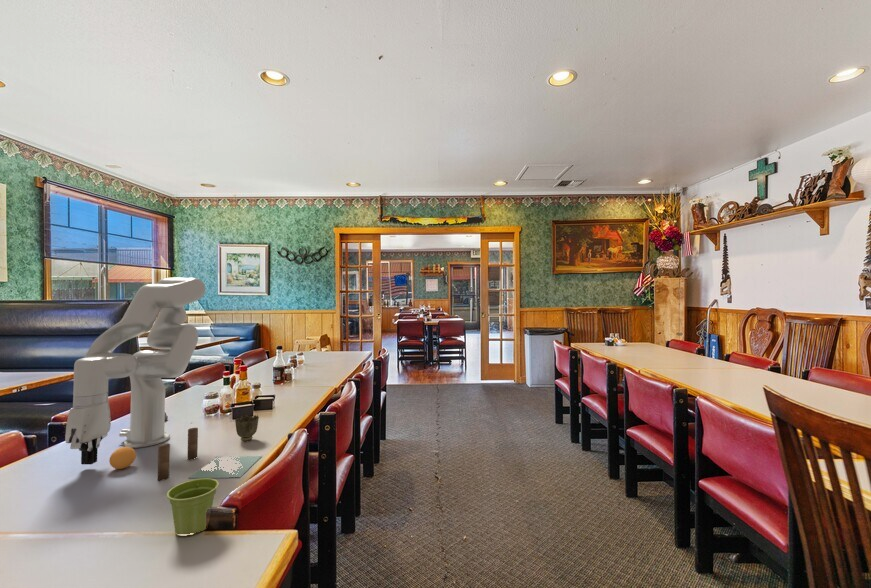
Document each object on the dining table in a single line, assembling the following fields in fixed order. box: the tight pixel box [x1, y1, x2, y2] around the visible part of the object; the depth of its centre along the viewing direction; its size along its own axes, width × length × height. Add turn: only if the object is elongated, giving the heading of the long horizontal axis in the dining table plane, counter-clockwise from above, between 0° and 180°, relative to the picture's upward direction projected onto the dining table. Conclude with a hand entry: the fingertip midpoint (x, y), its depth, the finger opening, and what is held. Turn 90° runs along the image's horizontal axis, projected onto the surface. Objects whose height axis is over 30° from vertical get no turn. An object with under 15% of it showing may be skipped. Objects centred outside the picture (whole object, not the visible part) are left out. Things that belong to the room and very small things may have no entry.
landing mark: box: [188, 455, 263, 480], centre depth 110 cm, size 14×14×1 cm
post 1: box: [157, 443, 171, 481], centre depth 103 cm, size 3×3×9 cm
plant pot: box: [166, 478, 220, 535], centre depth 80 cm, size 9×9×9 cm
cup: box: [234, 414, 260, 443], centre depth 131 cm, size 8×7×8 cm
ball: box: [109, 446, 137, 470], centre depth 109 cm, size 6×6×6 cm
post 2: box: [187, 427, 199, 460], centre depth 116 cm, size 3×3×9 cm
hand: (89, 463), depth 108 cm, fingers closed
